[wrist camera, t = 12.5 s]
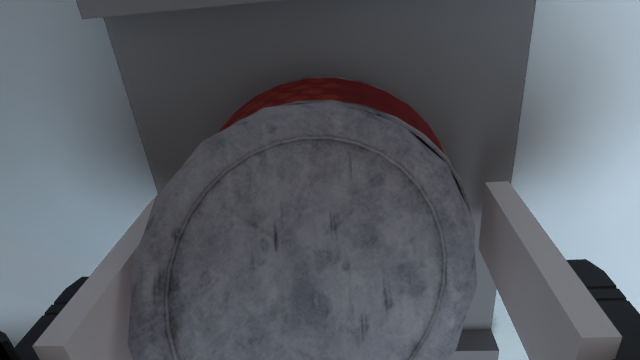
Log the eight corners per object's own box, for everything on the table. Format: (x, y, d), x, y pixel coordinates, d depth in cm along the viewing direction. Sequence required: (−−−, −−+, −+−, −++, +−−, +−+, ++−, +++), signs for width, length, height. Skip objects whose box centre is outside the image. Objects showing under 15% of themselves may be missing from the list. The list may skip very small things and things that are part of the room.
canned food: (226, 139, 21) (25, 129, 11) (423, 56, 17) (368, -57, 8) (297, 359, 20) (146, 541, 11) (514, 319, 17) (571, 533, 7)
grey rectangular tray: (99, -19, 14) (70, -17, 12) (539, -65, 12) (564, -69, 11) (208, 342, 22) (198, 368, 20) (486, 337, 20) (496, 365, 19)
